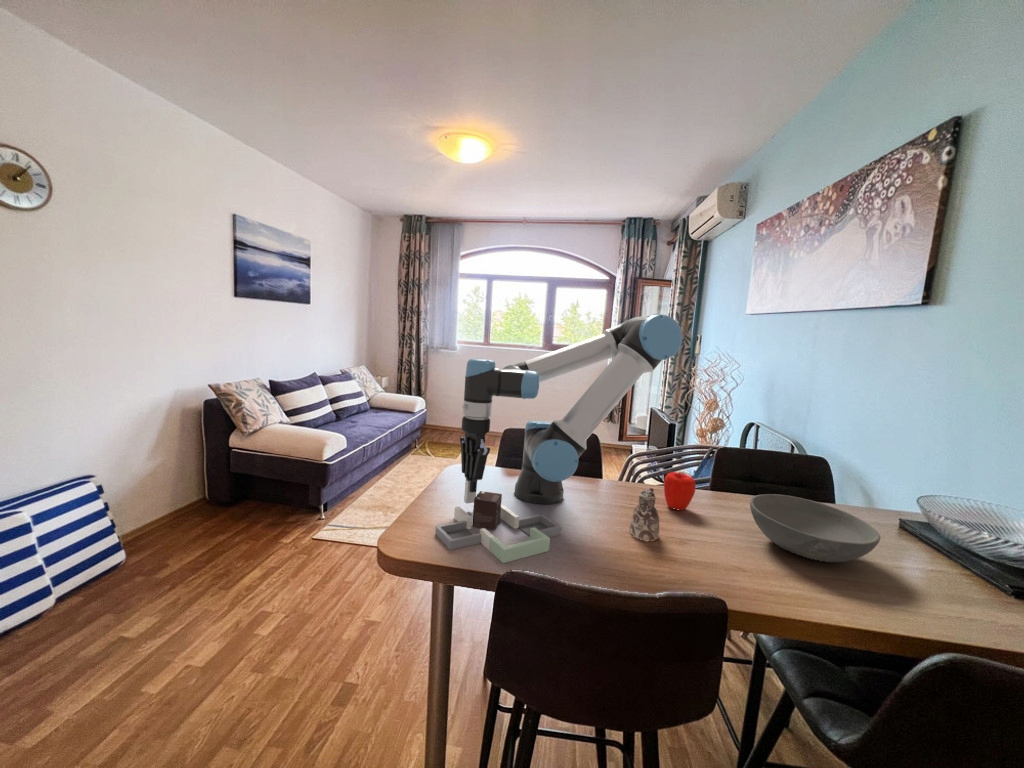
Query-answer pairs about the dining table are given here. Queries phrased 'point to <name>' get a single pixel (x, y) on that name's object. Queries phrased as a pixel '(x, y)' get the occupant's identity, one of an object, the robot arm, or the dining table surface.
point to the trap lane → (461, 537)
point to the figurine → (645, 517)
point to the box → (487, 510)
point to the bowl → (813, 528)
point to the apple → (678, 490)
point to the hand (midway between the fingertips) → (469, 501)
